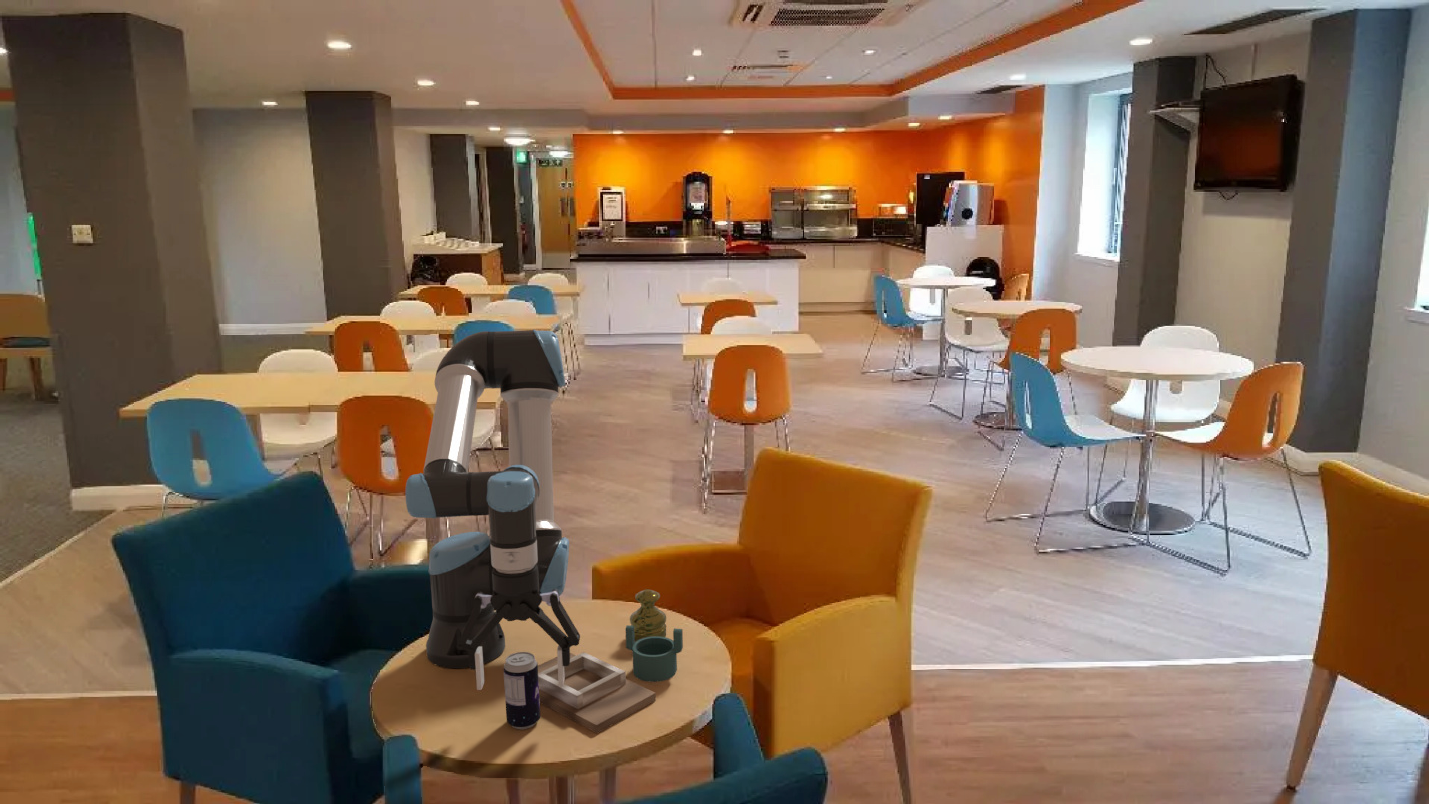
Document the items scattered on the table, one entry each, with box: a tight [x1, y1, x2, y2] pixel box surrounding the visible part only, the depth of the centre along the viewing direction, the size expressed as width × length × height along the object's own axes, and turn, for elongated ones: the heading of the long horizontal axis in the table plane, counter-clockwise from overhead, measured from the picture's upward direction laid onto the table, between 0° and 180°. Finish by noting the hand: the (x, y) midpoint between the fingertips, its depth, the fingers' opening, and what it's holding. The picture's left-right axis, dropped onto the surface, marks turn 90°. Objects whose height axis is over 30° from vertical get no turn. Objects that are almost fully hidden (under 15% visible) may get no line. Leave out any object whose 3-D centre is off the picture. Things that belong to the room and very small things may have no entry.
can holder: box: [538, 651, 657, 734], centre depth 175 cm, size 24×14×4 cm, turn 49°
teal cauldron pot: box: [625, 625, 684, 683], centre depth 183 cm, size 9×9×9 cm
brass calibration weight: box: [629, 588, 667, 642], centre depth 197 cm, size 7×7×10 cm
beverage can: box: [503, 651, 541, 730], centre depth 165 cm, size 6×6×12 cm
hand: (521, 684), depth 164 cm, fingers open, 13 cm apart
